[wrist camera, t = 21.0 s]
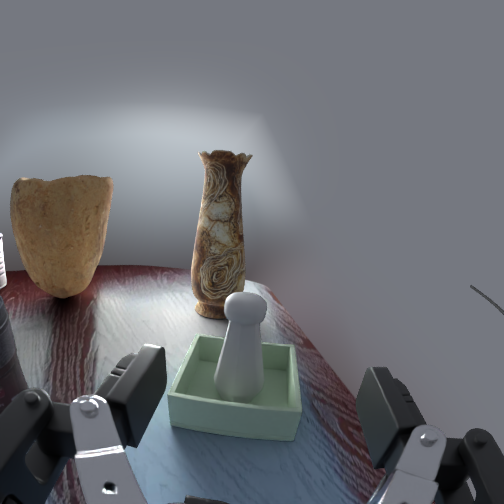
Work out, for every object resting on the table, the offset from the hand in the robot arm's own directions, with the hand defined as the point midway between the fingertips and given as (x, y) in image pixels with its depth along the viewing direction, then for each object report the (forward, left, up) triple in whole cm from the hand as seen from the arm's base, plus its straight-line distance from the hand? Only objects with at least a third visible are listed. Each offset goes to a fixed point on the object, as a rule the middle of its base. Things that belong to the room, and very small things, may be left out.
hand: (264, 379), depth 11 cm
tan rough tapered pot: (+2, -55, -18) cm, 58 cm away
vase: (-25, -37, -18) cm, 48 cm away
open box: (-12, -14, -18) cm, 26 cm away
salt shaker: (-12, -14, -17) cm, 25 cm away
